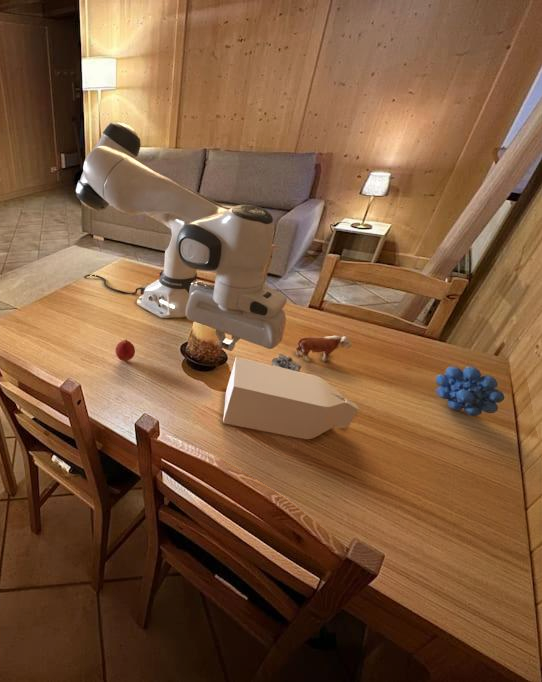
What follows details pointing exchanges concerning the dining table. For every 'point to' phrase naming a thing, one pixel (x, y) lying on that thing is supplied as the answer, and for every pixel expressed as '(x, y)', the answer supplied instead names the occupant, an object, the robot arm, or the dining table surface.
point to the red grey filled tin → (286, 363)
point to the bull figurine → (321, 345)
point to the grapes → (469, 390)
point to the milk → (283, 401)
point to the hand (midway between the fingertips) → (226, 347)
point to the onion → (125, 350)
